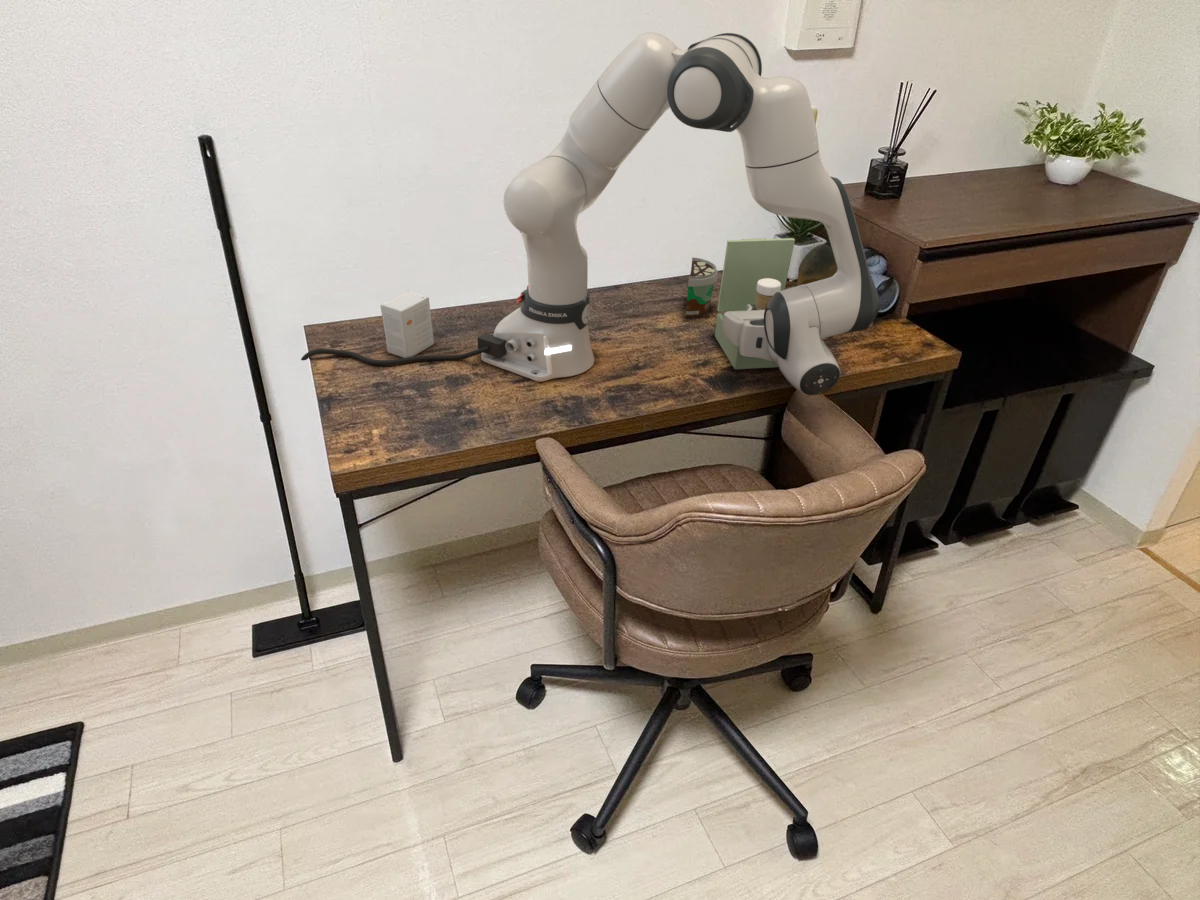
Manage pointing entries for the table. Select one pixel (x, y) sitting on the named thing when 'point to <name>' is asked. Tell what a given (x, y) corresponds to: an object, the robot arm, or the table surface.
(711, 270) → the food container
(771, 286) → the sprinkles bottle
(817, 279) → the decorative stone
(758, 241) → the lid
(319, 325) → the table surface
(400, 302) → the small box
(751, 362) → the chest
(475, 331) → the table surface
